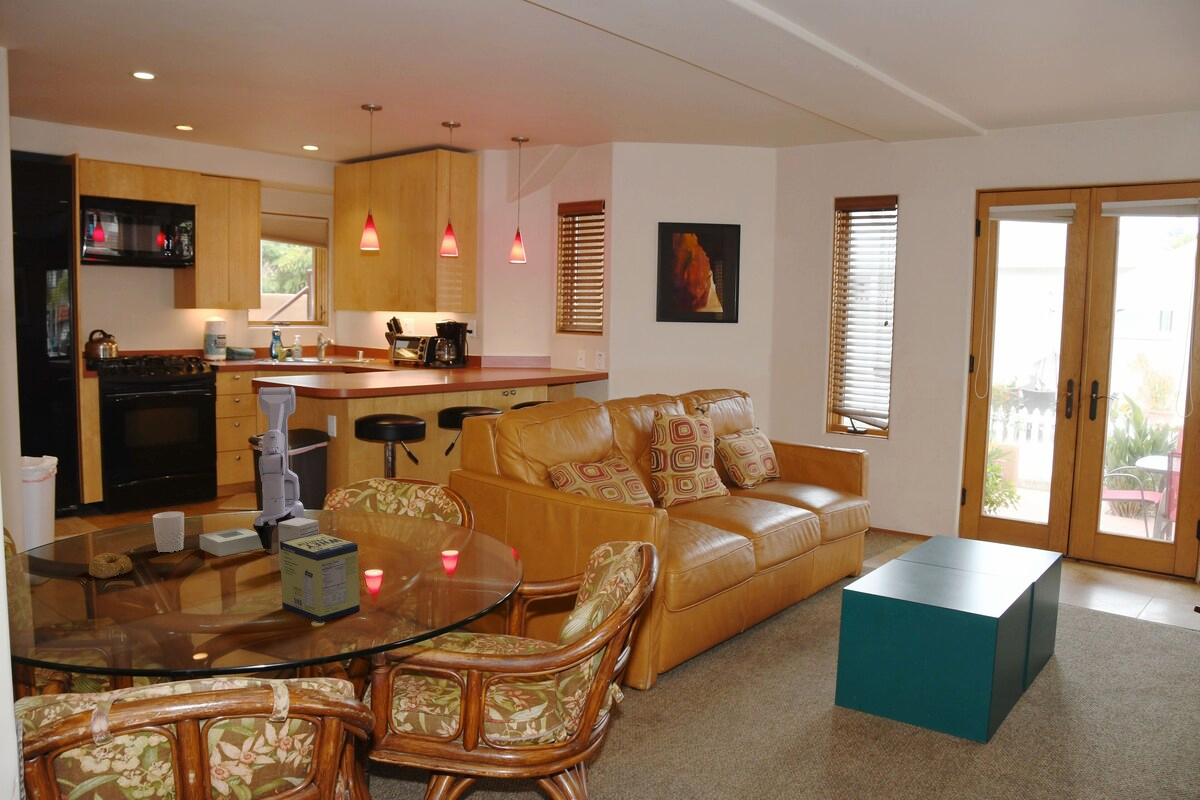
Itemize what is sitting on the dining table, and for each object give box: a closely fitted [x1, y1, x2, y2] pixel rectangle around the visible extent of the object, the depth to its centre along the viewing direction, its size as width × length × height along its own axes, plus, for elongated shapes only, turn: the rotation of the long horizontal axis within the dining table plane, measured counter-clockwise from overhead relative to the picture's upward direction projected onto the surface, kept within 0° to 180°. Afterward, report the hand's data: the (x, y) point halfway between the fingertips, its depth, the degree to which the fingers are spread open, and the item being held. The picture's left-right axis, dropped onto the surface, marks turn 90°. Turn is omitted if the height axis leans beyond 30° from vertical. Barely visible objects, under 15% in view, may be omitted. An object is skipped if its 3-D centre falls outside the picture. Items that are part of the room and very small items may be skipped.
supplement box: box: [278, 517, 320, 571], centre depth 232 cm, size 7×7×13 cm
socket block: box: [199, 526, 263, 558], centre depth 252 cm, size 12×12×4 cm
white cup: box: [152, 511, 185, 553], centre depth 250 cm, size 8×8×10 cm
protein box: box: [280, 532, 361, 624], centre depth 201 cm, size 10×16×16 cm
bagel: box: [88, 552, 133, 580], centre depth 229 cm, size 10×11×5 cm
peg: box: [264, 524, 279, 555], centre depth 249 cm, size 4×4×7 cm
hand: (275, 545), depth 249 cm, fingers open, 7 cm apart
